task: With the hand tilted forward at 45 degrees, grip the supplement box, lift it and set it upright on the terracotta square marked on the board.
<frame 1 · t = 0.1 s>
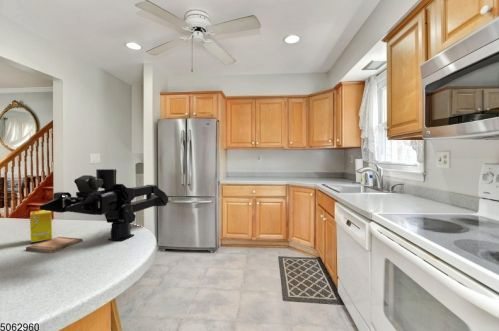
hand: (52, 208, 66), 17 cm above the countertop, tool horizontal, fingers open, 9 cm apart
marked board: (55, 245, 83), on the countertop
supplement box: (41, 241, 89), on the countertop
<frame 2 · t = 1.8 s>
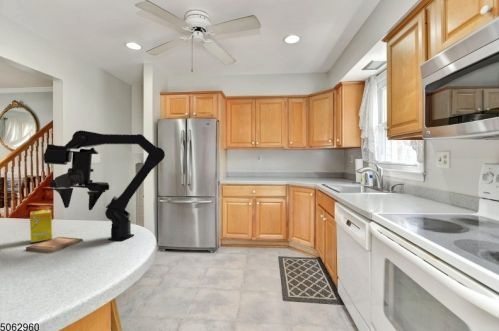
hand: (78, 208, 86), 12 cm above the countertop, tool pointing down, fingers open, 9 cm apart
nothing on the countertop moved.
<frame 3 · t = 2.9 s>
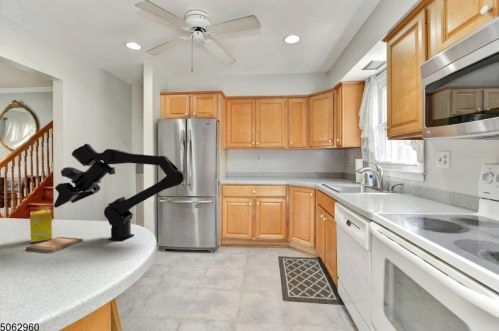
hand: (63, 204, 89), 13 cm above the countertop, tool tilted 45°, fingers open, 9 cm apart
nothing on the countertop moved.
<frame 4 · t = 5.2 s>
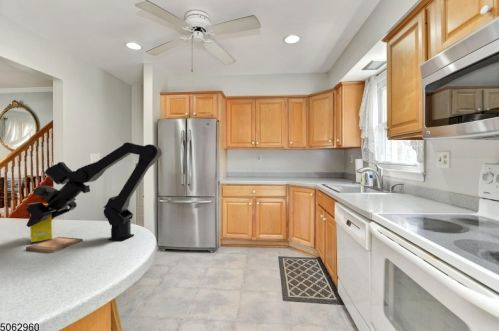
hand: (37, 223, 88), 7 cm above the countertop, tool tilted 45°, fingers closed on supplement box, 8 cm apart
supplement box: (41, 241, 89), on the countertop, touching gripper
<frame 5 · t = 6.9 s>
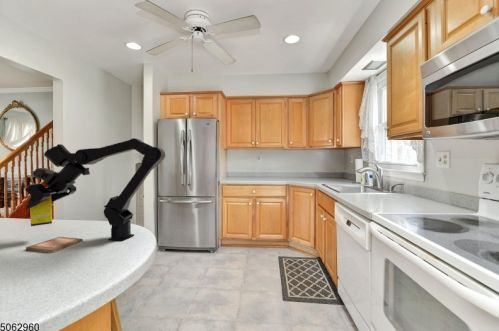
hand: (36, 205, 88), 13 cm above the countertop, tool tilted 45°, fingers closed on supplement box, 8 cm apart
supplement box: (41, 224, 88), point 6 cm above the countertop, touching gripper
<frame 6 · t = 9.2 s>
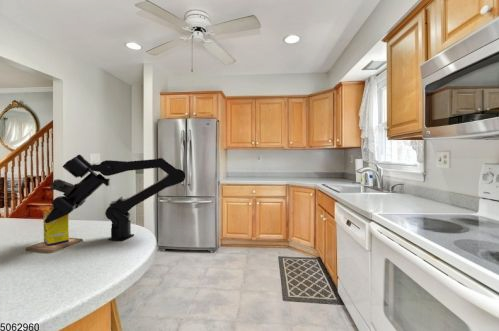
hand: (49, 219, 82), 9 cm above the countertop, tool tilted 45°, fingers closed on supplement box, 7 cm apart
supplement box: (56, 243, 83), point 1 cm above the countertop, touching gripper, marked board
when the fingers open (9 cm above the countertop, at t = 9.5 s): supplement box stays where it is, resting on marked board.
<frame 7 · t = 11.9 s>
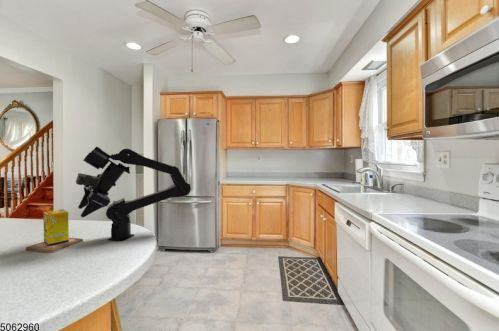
hand: (80, 212, 85), 11 cm above the countertop, tool tilted 35°, fingers open, 9 cm apart
supplement box: (56, 243, 83), point 1 cm above the countertop, touching marked board
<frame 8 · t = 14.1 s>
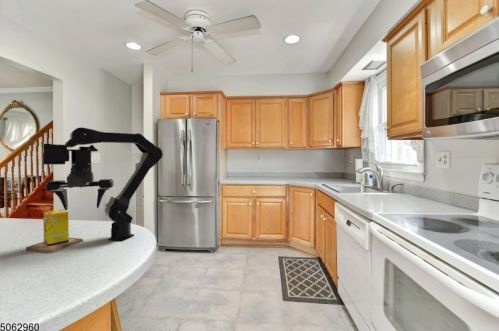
hand: (82, 208, 83), 13 cm above the countertop, tool pointing down, fingers open, 9 cm apart
nothing on the countertop moved.
at the end: supplement box 0.2 cm off-centre on the marked board, point 0.9 cm above the marked board's base; supplement box tilted 0°; the gripper is holding nothing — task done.
